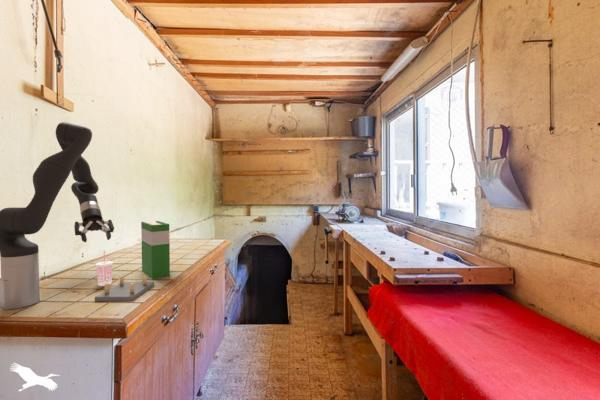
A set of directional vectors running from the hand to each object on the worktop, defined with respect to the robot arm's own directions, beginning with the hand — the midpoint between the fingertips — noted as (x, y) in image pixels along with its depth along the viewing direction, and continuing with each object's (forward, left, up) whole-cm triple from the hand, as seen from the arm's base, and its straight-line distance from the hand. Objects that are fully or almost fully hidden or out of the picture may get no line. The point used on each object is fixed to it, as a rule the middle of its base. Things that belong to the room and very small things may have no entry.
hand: (97, 240), depth 123 cm
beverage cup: (-2, -11, -17) cm, 21 cm away
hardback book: (+18, -14, -17) cm, 29 cm away
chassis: (-2, -29, -17) cm, 34 cm away
